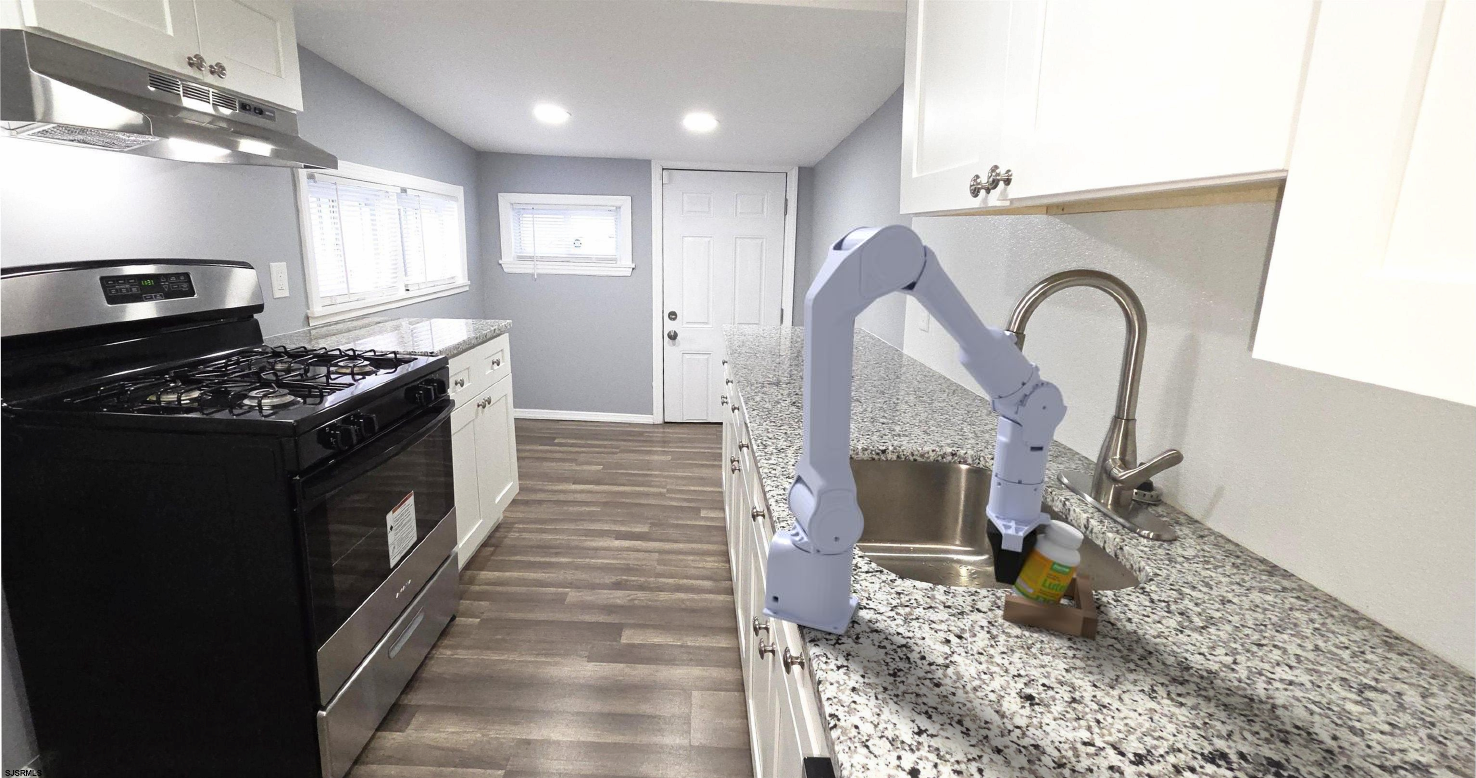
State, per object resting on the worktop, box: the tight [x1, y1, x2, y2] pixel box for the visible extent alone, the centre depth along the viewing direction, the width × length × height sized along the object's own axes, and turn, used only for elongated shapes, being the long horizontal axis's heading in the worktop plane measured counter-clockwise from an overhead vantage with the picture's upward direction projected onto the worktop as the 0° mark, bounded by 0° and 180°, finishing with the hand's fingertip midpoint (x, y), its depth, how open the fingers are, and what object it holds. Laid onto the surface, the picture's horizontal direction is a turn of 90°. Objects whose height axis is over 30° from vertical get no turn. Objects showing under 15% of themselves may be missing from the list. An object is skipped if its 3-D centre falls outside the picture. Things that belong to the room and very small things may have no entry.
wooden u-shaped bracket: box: [1002, 572, 1099, 641], centre depth 78 cm, size 10×11×2 cm
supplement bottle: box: [1011, 519, 1085, 605], centre depth 78 cm, size 5×5×10 cm
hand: (1004, 581), depth 80 cm, fingers closed, pressing on supplement bottle
